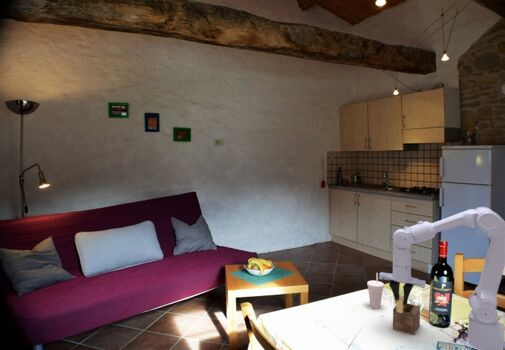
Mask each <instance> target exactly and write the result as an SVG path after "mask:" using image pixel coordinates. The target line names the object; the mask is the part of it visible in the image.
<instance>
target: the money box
mask: <svg viewBox="0 0 505 350" xmlns="http://www.w3.org/2000/svg"><path fill="white" fill-rule="evenodd" d="M392 315H393V316H392V329H393V330H397V331H400V332H403V333H407V334H410V335H416V333H417V331H418V329H419V328H420V324H421V322H420V320H421V305H416V304H413V303H408V302H407V304H406V309H405V311H404V312H403V313H399V312H396V305H395V306H394V307H393V310H392Z"/></svg>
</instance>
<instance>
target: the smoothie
mask: <svg viewBox="0 0 505 350" xmlns="http://www.w3.org/2000/svg"><path fill="white" fill-rule="evenodd" d="M375 274H376V276H375V277H376V280H368V281H367V284H366V285H367V288H368V296H369V305H370V308H371V309H375V310H380V309H381V305H382V298H383V289H384V288H385V284H384V282H382V281H379V274H378V272H376V273H375Z"/></svg>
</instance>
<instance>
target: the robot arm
mask: <svg viewBox="0 0 505 350" xmlns="http://www.w3.org/2000/svg"><path fill="white" fill-rule="evenodd" d="M476 225H477V227H478V228H479V229H480V230H481V231H482V232H484V233H485V234H486V235H487V236H488V238H489V239H490V242H489V245H488V247H487V251H486V252H487V253H486V254H485V255H486V256H485V260H484V263H483V268H482V270H481V274H480V278H479V282H478V285H476V287H475V289H474V292H473V293H472V294H471V295H469V298H468V305H469V307H470V308H471V311H470V312H469V313H468V333H467V337H468V338H467V339H466V341H465V345H470V346H473V347H475V348H476V349H477V350H504V349H505V341H504V340H505V339H504V337H505V336H504V335H505V333H504V332H505V324H504V323H503V322H500V321H497V319H499V318H498V316H499V314H498V310H497V307H498V291H499V287H500V284H501V281H502V278H503V276H502V275H503V273H504V269H505V220H504V219H503V218H502V217H501V216H500V215H499V214H498V213H497V212H495V211H493V210H492V209H491V208H489V207H487V206H479V207H476V208H472V209H467V210H465V211H464V210H463V211H462V212H459V213H456V214H454V215H451V216H448V217H445V218H442V219H440V220H438V221H434V222H429V221H427V220H426V221H423V220H420V221H418V223H417V224H415V225H412V226H404V227H403V228H404V229H403V228H399V229H397V230H395V231H394V232H393V235H392V243H393V245H392V248H393V250H392V273H389V272H383V271H382V272H380V273H379V274H378V280H386V281H389V283H388V285H389V287H390V289H391V291H392V294H393V298H394V300H395V303H396V302H397V299H398V298H399V297H400V285H401V284H404V285H403V286H402V288H403V289H402V290H403V296H404V305H406V304H407V303H408V301H409V300H408V299H409V296H410V294H411V292H412V289H413V288H414V287H415V286H416V287H419V288H422V289H425V288H426V280H425V279H424V280H422V279H419V278H416V277H412V274H411V273H412V252H411V246H412V244H418V243H422V242H424V241H428V240H431V239H434V238H435V236H436V234H437V233H440V232H444V231H447V230H451V229H454V228H459V227H461V226H464V227H469V228H472V229H475V228H476Z"/></svg>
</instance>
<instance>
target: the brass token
mask: <svg viewBox="0 0 505 350" xmlns="http://www.w3.org/2000/svg"><path fill="white" fill-rule="evenodd" d="M395 303H396V305H395V306H396V312H399V313H403V312H404V311H405V309H406V305H404V295H399V298H398V299H397V302H395Z"/></svg>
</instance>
